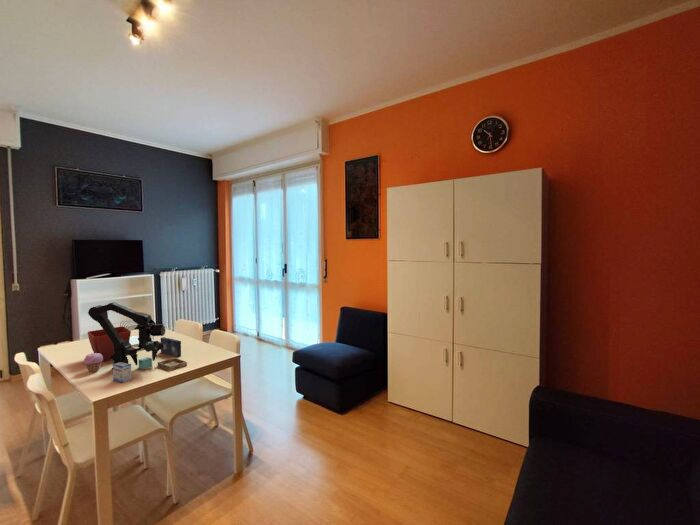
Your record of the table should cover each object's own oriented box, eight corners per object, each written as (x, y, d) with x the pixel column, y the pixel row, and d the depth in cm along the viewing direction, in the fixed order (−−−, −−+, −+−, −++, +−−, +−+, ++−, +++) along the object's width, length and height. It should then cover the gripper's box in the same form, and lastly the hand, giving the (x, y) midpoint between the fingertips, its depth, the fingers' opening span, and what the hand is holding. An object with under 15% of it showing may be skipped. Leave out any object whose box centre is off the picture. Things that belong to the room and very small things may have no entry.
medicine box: (112, 380, 174) (112, 364, 174) (121, 377, 179) (120, 361, 178) (123, 382, 172) (122, 366, 171) (131, 379, 176) (131, 363, 175)
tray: (169, 370, 188) (169, 366, 188) (157, 366, 196) (157, 362, 196) (186, 365, 197) (186, 361, 197) (174, 361, 204) (174, 357, 204)
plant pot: (94, 365, 198) (93, 336, 197) (87, 357, 211) (87, 331, 210) (132, 357, 212) (131, 331, 211) (123, 351, 225) (122, 326, 224)
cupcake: (83, 370, 188) (82, 353, 188) (102, 367, 194) (101, 350, 194) (85, 375, 182) (84, 356, 182) (104, 371, 188) (104, 353, 188)
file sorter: (119, 341, 249) (118, 320, 248) (145, 336, 261) (145, 317, 261) (126, 348, 231) (126, 325, 231) (155, 343, 243) (154, 322, 243)
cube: (142, 369, 190) (142, 361, 190) (138, 368, 193) (138, 359, 193) (152, 367, 195) (152, 358, 194) (147, 365, 197) (147, 357, 197)
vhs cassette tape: (181, 356, 215) (181, 340, 214) (177, 357, 212) (176, 341, 212) (164, 351, 224) (164, 336, 224) (160, 352, 221) (160, 337, 221)
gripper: (133, 342, 181) (134, 370, 182) (168, 334, 196) (168, 361, 197) (124, 339, 187) (124, 366, 188) (158, 332, 203) (159, 357, 203)
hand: (145, 362), depth 194 cm, fingers open, 9 cm apart
